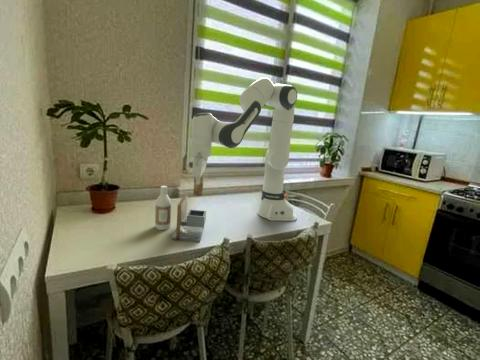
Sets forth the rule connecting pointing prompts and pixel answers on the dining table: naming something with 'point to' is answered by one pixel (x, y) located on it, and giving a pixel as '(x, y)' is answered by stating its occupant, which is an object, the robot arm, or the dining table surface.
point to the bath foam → (163, 210)
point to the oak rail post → (198, 186)
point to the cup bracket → (189, 223)
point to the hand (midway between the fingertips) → (198, 182)
